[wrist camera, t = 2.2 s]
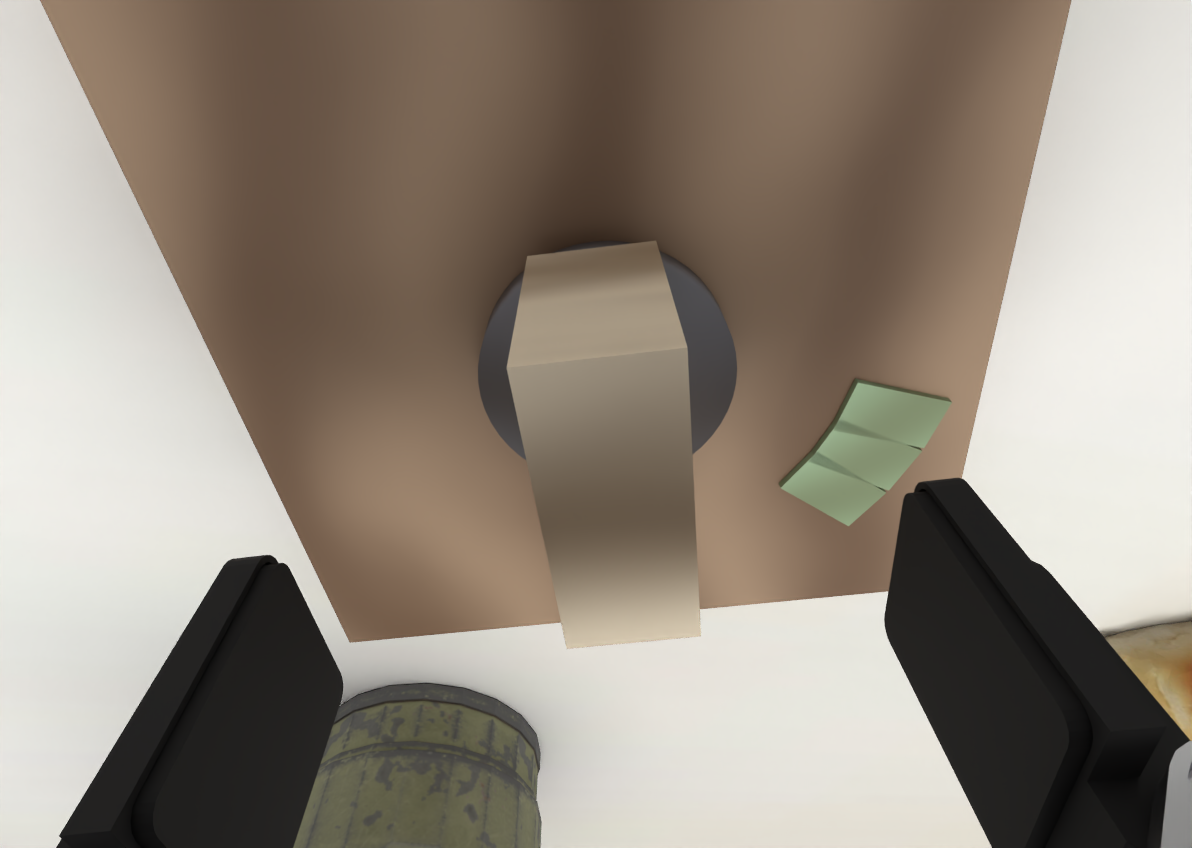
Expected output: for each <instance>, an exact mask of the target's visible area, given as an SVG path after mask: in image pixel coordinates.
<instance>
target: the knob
mask: <svg viewBox="0 0 1192 848" xmlns="http://www.w3.org/2000/svg"><path fill="white" fill-rule="evenodd" d="M736 379H737V358H736V351H735V346H734V342H733V338H732V336H731V333H730V331H729V328H728V326H727V323H726V321H725V318H724V316H723V314H722V311H721V309H720V307H719V304H718V303H717V301H716V299H715V298H714V296H713V294H712V293H711V291H710V290H709V288H708V287H707V286H706V285H705V284H704V282H703V281H702V280H701V279H700V278H699V277H698V276H697V275H696V274H695V273H694V272H693V271H692V270H691V269H690V268H688V267H687V266H685V265H684V264H682V263H681V262H680V261H678V260H677V259H675V258H673V257H671V256H669V255H667V254H665V253H663V252H661V251H659V249H658V245H657V242H656V241H648V242H640V243H630V242H622V241H593V242H587V243H582V244H576V245H572V246H569V247H566V248H563V249H560V250H557V251H555V252H553V253H549V254H540V255H532V256H527V260H526V265H525V270H524V271H523V272H521V273H520V274H519V275H518V276H517V277H516V278H515V279H514V280H513V281H512V282H511V283H510V284H509V286H508V287H507V288H506V289H505V290H504V292H503V293H502V295H501V296H500V298H499V299H498V301H497V303H496V304H495V307H494V309H493V311H492V313H491V315H490V318H489V321H488V324H487V328H486V331H485V335H484V339H483V343H482V346H481V350H480V356H479V363H478V384H479V390H480V396H481V399H482V403H483V406H484V409H485V411H486V413H487V415H488V418H489V420H490V422H491V424H492V425H493V427H494V428H495V430H496V431H497V433H498V434H499V436H500V437H501V438H502V439H503V440H504V441H505V442H506V443H507V445H508V446H509V447H510V448H511V449H513V450H514V451H515V452H516V453H517V454H518V455H519V456H521V457H522V458H524V459H525V460H526V461H527V465H528V470H529V475H530V479H531V484H532V489H533V493H534V498H535V503H536V507H537V512H538V517H539V521H540V526H541V531H542V535H543V540H544V545H545V549H546V554H547V559H548V563H549V568H550V573H551V577H552V582H553V587H554V591H555V596H556V601H557V605H558V610H559V615H560V619H561V624H562V629H563V633H564V638H565V643H566V647H567V649H571V648H581V647H592V646H603V645H613V644H624V643H635V642H645V641H656V640H667V639H678V638H688V637H699V636H701V628H700V607H699V585H698V563H697V542H696V520H695V499H694V477H693V454H694V453H695V452H696V451H697V450H699V449H700V448H701V447H702V446H703V445H704V444H705V443H706V442H707V441H708V440H709V439H710V438H711V437H712V435H713V434H714V433H715V431H716V430H717V428H718V427H719V426H720V424H721V423H722V421H723V419H724V417H725V415H726V413H727V412H728V409H729V406H730V404H731V401H732V399H733V395H734V390H735V386H736Z"/></svg>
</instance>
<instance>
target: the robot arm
mask: <svg viewBox="0 0 1192 848" xmlns="http://www.w3.org/2000/svg"><path fill="white" fill-rule="evenodd" d="M884 621H885V629H886V633H887V636H888V639H889V642H890V644H891V646H892V648H893V650H894V652H895V654H896V656H897V658H898V660H899V662H900V664H901V666H902V668H903V670H904V672H905V674H906V676H907V678H908V680H909V682H910V684H911V686H912V688H913V690H914V692H915V694H916V696H917V698H918V700H919V702H920V704H921V706H922V708H923V710H924V712H925V714H926V716H927V718H928V720H929V722H930V724H931V726H932V728H933V730H934V732H935V734H936V736H937V738H938V740H939V742H940V744H941V746H942V748H943V750H944V752H945V754H946V756H947V758H948V760H949V762H950V764H951V766H952V768H953V770H954V772H955V774H956V776H957V778H958V780H959V782H960V784H961V786H962V788H963V790H964V792H965V794H966V796H967V798H968V800H969V802H970V804H971V806H972V808H973V810H974V812H975V814H976V816H977V818H978V820H979V822H980V824H981V826H982V828H983V830H984V832H985V834H986V836H987V838H988V840H989V842H990V844H991V846H992V848H1192V741H1191V740H1190V739H1189V738H1188V737H1187V736H1186V734H1185V733H1184V732H1183V731H1182V730H1181V729H1180V727H1179V726H1178V725H1177V724H1176V723H1175V721H1174V720H1173V719H1172V718H1171V717H1170V715H1169V714H1168V713H1167V712H1166V711H1165V709H1164V708H1163V707H1162V706H1161V705H1160V703H1159V702H1158V701H1157V700H1156V699H1155V698H1154V696H1153V695H1152V694H1151V693H1150V692H1149V690H1148V689H1147V688H1146V687H1145V686H1144V684H1143V683H1142V682H1141V681H1140V680H1139V678H1138V677H1137V676H1136V675H1135V674H1134V672H1133V671H1132V670H1131V669H1130V668H1129V667H1128V665H1127V664H1126V663H1125V662H1124V661H1123V659H1122V658H1121V657H1120V656H1119V655H1118V653H1117V652H1116V651H1115V650H1114V649H1113V647H1112V646H1111V645H1110V644H1109V643H1108V641H1107V640H1106V639H1105V638H1104V637H1103V635H1102V634H1101V633H1100V632H1099V631H1098V630H1097V628H1096V627H1095V626H1094V625H1093V624H1092V622H1091V621H1090V620H1089V619H1088V618H1087V616H1086V615H1085V614H1084V613H1083V612H1082V610H1081V609H1080V608H1079V607H1078V606H1077V604H1076V603H1075V602H1074V601H1073V600H1072V599H1071V597H1070V596H1069V595H1068V594H1067V593H1066V591H1065V590H1064V589H1063V588H1062V587H1061V585H1060V584H1059V583H1058V582H1057V581H1056V579H1055V578H1054V577H1053V576H1052V575H1051V574H1050V573H1049V572H1048V571H1047V570H1046V569H1045V568H1044V567H1043V566H1042V565H1040V564H1038V563H1036V562H1034V561H1031V560H1030V558H1029V557H1028V556H1027V555H1026V554H1025V552H1024V551H1023V550H1022V549H1021V547H1020V546H1019V545H1018V544H1017V543H1016V541H1015V540H1014V539H1013V538H1012V537H1011V535H1010V534H1009V533H1008V532H1007V530H1006V529H1005V528H1004V527H1003V526H1002V524H1001V523H1000V522H999V521H998V520H997V518H996V517H995V516H994V515H993V513H992V512H991V511H990V510H989V509H988V507H987V506H986V505H985V504H984V503H983V501H982V500H981V499H980V498H979V496H978V495H977V494H976V493H975V492H974V490H973V489H972V488H971V487H970V486H969V484H968V483H967V482H966V481H965V480H963V479H961V478H950V479H941V480H932V481H923V482H919V483H918V484H917V485H916V487H915V490H914V492H913V493H907V494H906V495H905V496H904V499H903V504H902V510H901V517H900V523H899V529H898V535H897V542H896V548H895V554H894V560H893V567H892V573H891V579H890V585H889V592H888V598H887V604H886V611H885V619H884ZM342 694H343V680H342V676H341V673H340V671H339V669H338V667H337V665H336V663H335V661H334V659H333V657H332V655H331V653H330V650H329V648H328V646H327V644H326V642H325V640H324V638H323V636H322V634H321V632H320V630H319V628H318V626H317V624H316V622H315V620H314V618H313V616H312V614H311V612H310V610H309V608H308V606H307V603H306V601H305V599H304V597H303V595H302V593H301V591H300V589H299V587H298V585H297V583H296V581H295V579H294V577H293V575H292V573H291V571H290V569H289V567H288V566H287V565H286V564H284V563H278V562H277V560H276V559H275V558H274V557H273V556H271V555H263V556H254V557H246V558H237V559H231V560H229V561H228V562H227V563H226V564H225V565H224V566H223V568H222V569H221V571H220V573H219V574H218V576H217V578H216V579H215V581H214V583H213V584H212V586H211V587H210V589H209V591H208V592H207V594H206V596H205V597H204V599H203V601H202V602H201V604H200V606H199V607H198V609H197V610H196V612H195V614H194V615H193V617H192V619H191V620H190V622H189V624H188V625H187V627H186V629H185V630H184V632H183V633H182V635H181V637H180V638H179V640H178V642H177V643H176V645H175V647H174V648H173V650H172V651H171V653H170V655H169V656H168V658H167V660H166V661H165V663H164V665H163V666H162V668H161V670H160V671H159V673H158V674H157V676H156V678H155V679H154V681H153V683H152V684H151V686H150V688H149V689H148V691H147V693H146V694H145V696H144V697H143V699H142V701H141V702H140V704H139V706H138V707H137V709H136V711H135V712H134V714H133V716H132V717H131V719H130V720H129V722H128V724H127V725H126V727H125V729H124V730H123V732H122V734H121V735H120V737H119V738H118V740H117V742H116V743H115V745H114V747H113V748H112V750H111V752H110V753H109V755H108V757H107V758H106V760H105V761H104V763H103V765H102V766H101V768H100V770H99V771H98V773H97V775H96V776H95V778H94V780H93V781H92V783H91V784H90V786H89V788H88V789H87V791H86V793H85V794H84V796H83V798H82V799H81V801H80V803H79V804H78V806H77V807H76V809H75V811H74V812H73V814H72V816H71V817H70V819H69V821H68V822H67V824H66V825H65V827H64V829H63V830H62V832H61V834H60V835H59V836H60V837H61V838H62V839H61V841H60V842H59V844H58V846H57V847H56V848H293V847H294V844H295V841H296V838H297V835H298V832H299V828H300V825H301V822H302V819H303V816H304V813H305V810H306V807H307V804H308V801H309V798H310V795H311V792H312V788H313V785H314V782H315V779H316V776H317V773H318V770H319V767H320V764H321V761H322V758H323V755H324V751H325V748H326V745H327V742H328V739H329V736H330V733H331V730H332V727H333V724H334V721H335V718H336V715H337V711H338V708H339V705H340V702H341V699H342Z"/></svg>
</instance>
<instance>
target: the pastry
mask: <svg viewBox="0 0 1192 848" xmlns="http://www.w3.org/2000/svg"><path fill="white" fill-rule="evenodd" d="M1105 639H1106V640H1107V641H1108V643H1109V644H1110V645H1111V646H1112V647H1113V649H1114V650H1115V651H1116V652H1117V653H1118V655H1119V656H1120V657H1121V658H1122V659H1123V661H1124V662H1125V663H1126V664H1127V665H1128V667H1129V668H1130V669H1131V670H1132V671H1133V672H1134V674H1135V675H1136V676H1137V677H1138V678H1139V680H1140V681H1141V682H1142V683H1143V684H1144V686H1145V687H1146V688H1147V689H1148V690H1149V692H1150V693H1151V694H1152V695H1153V696H1154V698H1155V699H1156V700H1157V701H1158V702H1159V703H1160V705H1161V706H1162V707H1163V708H1164V709H1165V711H1166V712H1167V713H1168V714H1169V715H1170V717H1171V718H1172V719H1173V720H1174V721H1175V723H1176V724H1177V725H1178V726H1179V727H1180V729H1181V730H1182V731H1183V732H1184V733H1185V734H1186V736H1187V737H1188V738H1189V739H1190V740H1191V741H1192V621H1188V622H1181V623H1173V624H1162V625H1156V626H1151V627H1145V628H1141V629H1137V630H1130V631H1126V632H1122V633H1119V634H1116V635H1112V636H1108V637H1105Z"/></svg>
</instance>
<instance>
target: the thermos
mask: <svg viewBox="0 0 1192 848" xmlns="http://www.w3.org/2000/svg"><path fill="white" fill-rule="evenodd" d="M539 770H540V749H539V744H538V740H537V735H536V733H535V732H534V731H533V730H532V728H531V727H530V726H529V724H528V723H527V722H526V721H525V719H524V718H523V717H522V716H521V715H520V714H518V713H517V712H515V711H514V710H512V709H510V708H509V707H507V706H506V705H504V704H503V703H501V702H500V701H498V700H496V699H494V698H491V697H488V696H485V695H482V694H479V693H476V692H473V691H470V690H467V689H464V688H458V687H450V686H443V685H435V684H428V683H425V684H409V685H393V686H387V687H384V688H380V689H377V690H373V691H370V692H366V693H363V694H360V695H357V696H356V697H354V698H352V699H351V700H349V701H348V702H346V703H345V704H343V705H341V706H340V707H339V708H338V711H337V715H336V718H335V721H334V724H333V727H332V730H331V733H330V736H329V739H328V742H327V745H326V748H325V751H324V755H323V758H322V761H321V764H320V767H319V770H318V773H317V776H316V779H315V782H314V785H313V788H312V792H311V795H310V798H309V801H308V804H307V807H306V810H305V813H304V816H303V819H302V822H301V825H300V828H299V832H298V835H297V838H296V841H295V844H294V847H293V848H540V843H541V817H540V813H539V808H538V804H537V801H536V794H537V775H538V772H539Z"/></svg>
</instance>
